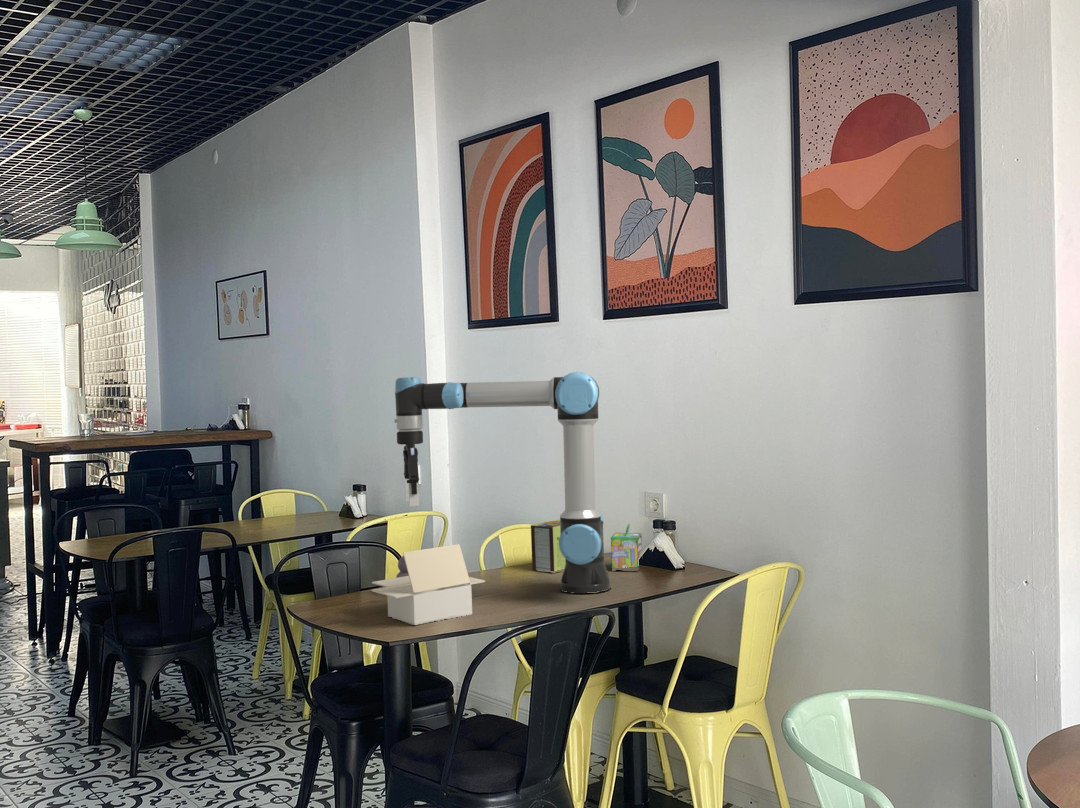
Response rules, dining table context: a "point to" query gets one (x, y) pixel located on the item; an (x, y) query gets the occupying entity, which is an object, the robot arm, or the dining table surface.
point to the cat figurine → (402, 568)
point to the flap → (436, 568)
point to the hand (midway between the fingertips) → (412, 503)
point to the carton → (426, 601)
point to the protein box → (546, 546)
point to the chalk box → (626, 549)
